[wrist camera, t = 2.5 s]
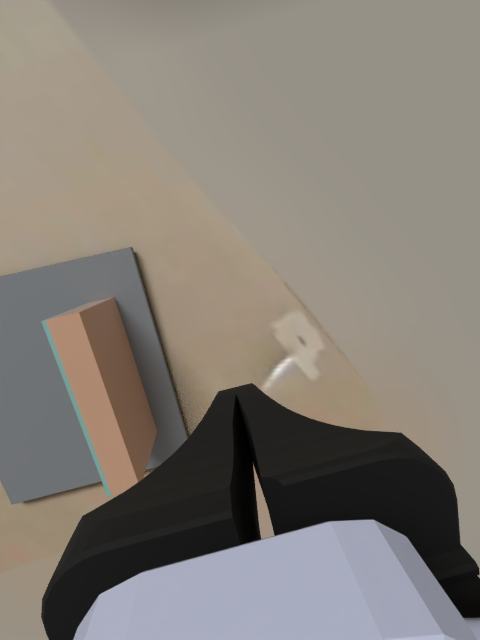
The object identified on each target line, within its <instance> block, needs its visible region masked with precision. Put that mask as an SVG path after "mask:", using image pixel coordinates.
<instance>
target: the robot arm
mask: <svg viewBox="0 0 480 640" xmlns="http://www.w3.org/2000/svg"><path fill="white" fill-rule="evenodd" d="M253 464H254V467H255V470H256V473H257V476H258V479H259V482H260V485H261V488H262V491H263V494H264V497H265V500H266V503H267V506H268V510H269V513H270V518H271V522H272V526H273V531H274V535H275V536H272V537H268V538H265V539H261V536H260V530H259V522H258V511H257V501H256V491H255V480H254V470H253ZM477 575H479V568H478V566H477V564H476V562H475V561H474V559H473V558H472V557H471V556H470V555H469V554H468V553H467V551H466V550H465V549H464V548H463V547H462V546H461V544H460V532H459V518H458V505H457V498H456V493H455V489H454V485H453V483H452V482H451V480H450V478H449V477H448V475H447V473H446V472H445V471H444V470H443V469H442V468H441V467H440V466H439V465H438V464H437V463H436V462H435V461H434V460H432V459H431V458H430V457H429V456H428V455H427V454H426V453H425V452H424V451H423V450H422V449H420V447H418V446H417V445H416V444H415V443H413V442H412V441H411V440H409V439H408V438H407V437H406V436H404V435H403V434H402V433H396V432H380V431H365V430H358V429H351V428H345V427H340V426H335V425H331V424H327V423H323V422H320V421H316V420H313V419H310V418H307V417H305V416H302V415H300V414H298V413H295V412H293V411H291V410H289V409H287V408H285V407H283V406H282V405H280V404H278V403H277V402H276V401H274V400H273V399H271V398H270V397H268V396H267V395H266V394H264V393H263V392H262V391H261V390H260V389H258V388H257V387H256V386H255V385H254V384H252V383H251V384H247V385H243V386H239V387H235V388H231V389H227V390H222V391H219V392H218V394H217V395H216V397H215V399H214V400H213V402H212V404H211V406H210V408H209V409H208V411H207V412H206V414H205V416H204V417H203V419H202V420H201V422H200V423H199V425H198V426H197V427H196V429H195V430H194V431H193V433H192V434H191V435H190V436H189V437H188V439H187V440H186V441H185V442H184V443H183V444H182V445H181V446H180V447H179V448H178V449H177V450H176V451H175V452H174V453H173V454H172V455H171V456H170V457H169V458H168V459H167V460H165V461H164V462H163V463H162V464H161V465H160V466H159V467H157V468H156V469H155V470H154V471H153V472H151V473H150V474H149V475H147V476H146V477H145V478H143V479H142V480H141V481H139V482H138V483H136V484H135V485H133V486H132V487H131V488H129V489H128V490H126V491H125V492H123V493H122V494H120V495H118V496H117V497H115V498H113V499H112V500H110V501H108V502H106V503H105V504H103V505H101V506H100V507H98V508H96V509H95V510H93V511H91V512H89V513H87V514H86V515H84V516H82V518H81V520H80V522H79V523H78V525H77V527H76V529H75V531H74V533H73V535H72V537H71V539H70V541H69V543H68V545H67V547H66V549H65V551H64V553H63V555H62V557H61V559H60V561H59V563H58V566H57V568H56V570H55V572H54V574H53V576H52V578H51V580H50V582H49V585H48V587H47V589H46V592H45V594H44V596H43V599H42V614H41V615H42V616H41V617H42V621H43V624H44V627H45V631H46V634H47V636H48V638H49V640H480V578H479V577H478V576H477Z"/></svg>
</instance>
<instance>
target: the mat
mask: <svg viewBox="0 0 480 640" xmlns="http://www.w3.org/2000/svg"><path fill="white" fill-rule="evenodd" d="M112 297H115V300H116V303H117V306H118V309H119V313H120V316H121V319H122V322H123V325H124V328H125V332H126V335H127V338H128V341H129V344H130V347H131V350H132V354H133V357H134V360H135V363H136V366H137V369H138V372H139V376H140V379H141V382H142V385H143V388H144V391H145V394H146V398H147V401H148V404H149V407H150V410H151V413H152V416H153V420H154V423H155V426H156V429H157V434H156V437H155V441H154V444H153V447H152V451H151V454H150V458H149V461H148V464H147V468H146V470H147V469H151V468H155V467H159V466H160V465H161V464H162V463H163V462H164V461H165V460H167V459H168V458H169V457H170V456H171V455H172V454H173V453H174V452H175V451H176V450H177V449H178V448H179V447H180V446H181V445H182V444H183V443H184V442H185V441H186V440H187V439H188V435H187V432H186V428H185V425H184V422H183V418H182V415H181V411H180V408H179V405H178V401H177V398H176V394H175V391H174V388H173V384H172V381H171V377H170V374H169V371H168V367H167V364H166V360H165V357H164V353H163V350H162V347H161V343H160V340H159V336H158V333H157V330H156V326H155V323H154V319H153V316H152V313H151V309H150V306H149V302H148V299H147V296H146V292H145V289H144V285H143V282H142V279H141V275H140V272H139V268H138V265H137V262H136V258H135V255H134V251H133V248H132V247H130V248H125V249H121V250H117V251H112V252H108V253H103V254H99V255H94V256H90V257H85V258H81V259H77V260H72V261H68V262H63V263H59V264H54V265H50V266H45V267H41V268H36V269H32V270H28V271H23V272H19V273H14V274H10V275H5V276H1V277H0V480H1V482H2V484H3V487H4V489H5V491H6V493H7V495H8V497H9V500H10V502H11V504H16V503H20V502H24V501H28V500H31V499H35V498H39V497H43V496H47V495H51V494H55V493H58V492H62V491H66V490H70V489H74V488H78V487H82V486H86V485H89V484H93V483H97V482H101V481H102V480H101V478H100V475H99V472H98V470H97V467H96V465H95V462H94V459H93V457H92V454H91V451H90V449H89V446H88V443H87V441H86V438H85V436H84V433H83V430H82V428H81V425H80V422H79V420H78V417H77V414H76V412H75V409H74V407H73V404H72V401H71V399H70V396H69V393H68V391H67V388H66V385H65V383H64V380H63V378H62V375H61V372H60V370H59V367H58V364H57V362H56V359H55V356H54V354H53V351H52V349H51V346H50V343H49V341H48V338H47V335H46V333H45V330H44V327H43V325H42V322H41V321H43V320H45V319H48V318H51V317H53V316H56V315H58V314H61V313H63V312H66V311H69V310H71V309H74V308H76V307H79V306H81V305H84V304H86V303H90V302H95V301H99V300H103V299H108V298H112Z"/></svg>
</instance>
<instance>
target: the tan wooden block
mask: <svg viewBox="0 0 480 640" xmlns="http://www.w3.org/2000/svg"><path fill="white" fill-rule="evenodd" d="M41 322H42V325H43V327H44V330H45V333H46V335H47V338H48V341H49V343H50V346H51V349H52V351H53V354H54V356H55V359H56V362H57V364H58V367H59V370H60V372H61V375H62V378H63V380H64V383H65V385H66V388H67V391H68V393H69V396H70V399H71V401H72V404H73V407H74V409H75V412H76V414H77V417H78V420H79V422H80V425H81V428H82V430H83V433H84V436H85V438H86V441H87V443H88V446H89V449H90V451H91V454H92V457H93V459H94V462H95V465H96V467H97V470H98V472H99V475H100V478H101V480H102V483H103V486H104V488H105V491H106V494H107V496H108V497H110V496H114V495H117V494H121V493H123V492H125V491H126V490H128V489H129V488H131V487H132V486H133V485H135V484H136V483H138V482H139V481H141V480H142V479H143V478H144V474H145V471H146V468H147V464H148V461H149V458H150V454H151V451H152V447H153V444H154V441H155V437H156V434H157V429H156V426H155V423H154V420H153V416H152V413H151V410H150V407H149V404H148V401H147V398H146V394H145V391H144V388H143V385H142V382H141V379H140V376H139V372H138V369H137V366H136V363H135V360H134V357H133V354H132V350H131V347H130V344H129V341H128V338H127V335H126V332H125V328H124V325H123V322H122V319H121V316H120V313H119V309H118V306H117V303H116V300H115V297H112V298H108V299H103V300H99V301H95V302H90V303H86V304H84V305H81V306H79V307H76V308H74V309H71V310H69V311H66V312H63V313H61V314H58V315H56V316H53V317H51V318H48V319H45V320H43V321H41Z"/></svg>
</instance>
